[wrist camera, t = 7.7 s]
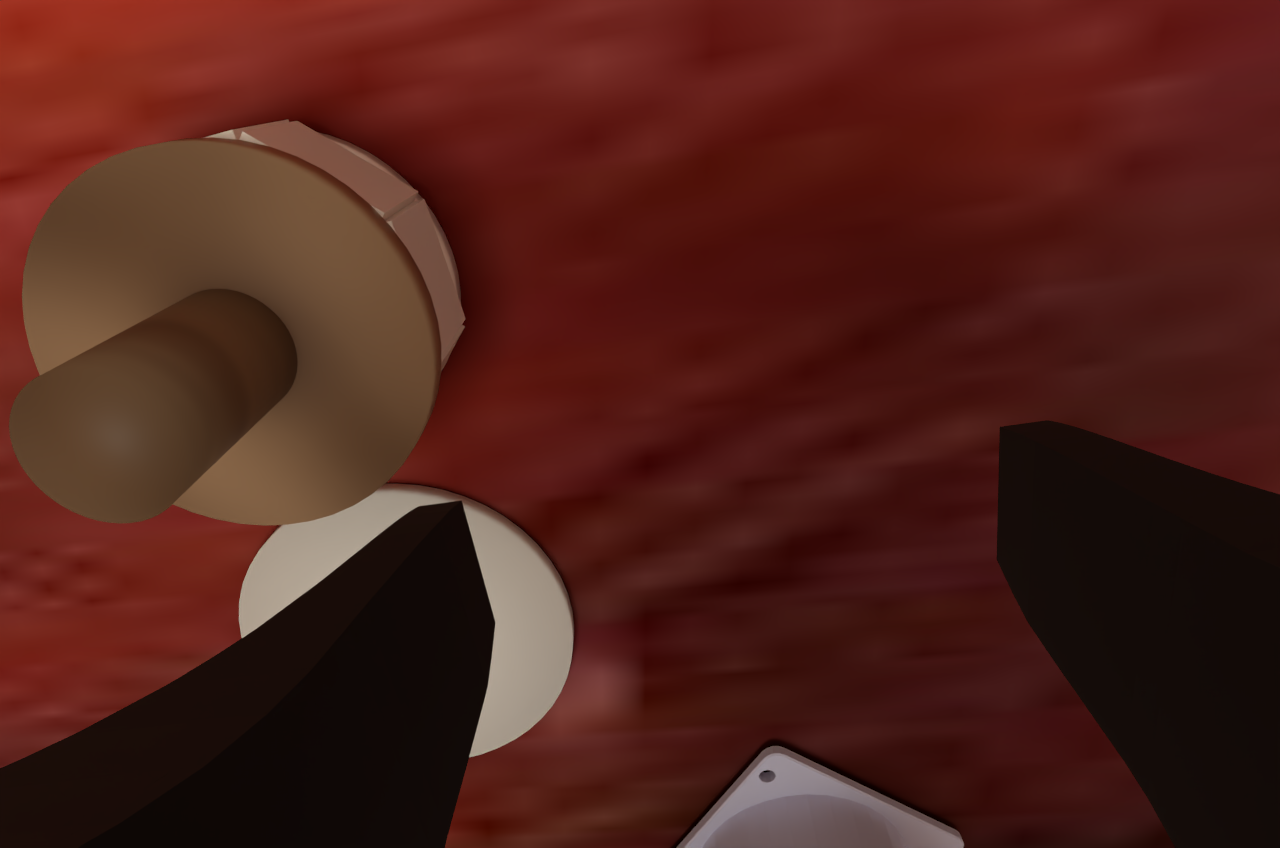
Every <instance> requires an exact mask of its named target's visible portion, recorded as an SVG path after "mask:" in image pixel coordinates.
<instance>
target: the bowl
mask: <svg viewBox="0 0 1280 848" xmlns="http://www.w3.org/2000/svg"><path fill="white" fill-rule="evenodd" d="M209 137H215V138H225V139H236V140H244V141H248V142H252V143H257V144H261V145H266V146H270V147H272V148H275V149H278V150H281V151H284V152H286V153H289V154H292V155H295V156H297V157H299V158H301V159H303V160H305V161H307V162H309V163H311V164H313V165H315V166H317V167H319V168H321V169H323V170H325V171H326V172H328V173H329V174H331V175H332V176H334V177H335V178H337V179H338V180H340V181H341V182H343V183H344V184H346V185H347V186H349V187H350V188H351V189H352V190H353V191H355V192H356V193H357V194H358V195H359V196H361V197H362V198H363V199H364V200H365V201H367V202H368V203H369V204H370V205H371V206H372V207H373V208H374V209H375V210H376V211H377V212H378V213H379V214H380V215H381V216H382V218H383V219H384V220H385V221H386V222H387V223H388V224H389V225H390V226H391V227H392V229H393V230H394V231H395V233H396V234H397V235H398V237H399V238H400V239H401V241H402V242H403V243H404V245H405V246H406V247H407V249H408V251H409V252H410V254H411V256H412V258H413V259H414V261H415V263H416V265H417V266H418V268H419V270H420V272H421V274H422V276H423V279H424V281H425V283H426V286H427V288H428V290H429V293H430V295H431V298H432V302H433V305H434V309H435V312H436V316H437V319H438V325H439V332H440V339H441V362H442V368H441V371H442V369H443V368H444V366H445V365H446V363H447V361H448V358H449V356H450V354H451V352H452V350H453V348H454V346H455V344H456V343H457V341H458V339H459V337H460V335H461V333H462V332H463V330H464V328H465V326H463V325H462V324H463V322H464V321H465V319H466V318H465V315H464V312H463V310H462V307H461V290H460V282H459V275H458V270H457V266H456V263H455V259H454V255H453V252H452V250H451V247H450V245H449V242H448V240H447V237H446V235H445V233H444V231H443V229H442V227H441V226H440V224H439V222H438V220H437V219H436V217H435V215H434V214H433V212H432V211H431V209H430V208H429V207H428V205H427V204H426V202H425V199H423V198H422V197H421V196H420V195H419V194H418V191H417V190H415V189H414V188H413V187H412V186H411V185H410V184H409V183H408V182H407V181H406V180H405V179H404V178H403V177H402V176H400V175H399V174H398V173H397V172H396V171H395V170H393V169H392V168H391V167H390V166H389V165H387V164H386V163H384V162H383V161H381V160H380V159H378V158H377V157H375V156H374V155H372V154H371V153H369V152H367V151H365V150H363V149H361V148H359V147H357V146H355V145H354V144H352V143H350V142H347V141H344V140H341V139H339V138H336V137H333V136H330V135H327V134H323V133H318V132H316V131H314V130H312V129H311V128H309V127H307V126H305V125H304V124H302V123H300V122H299V121H293V122H289V120H288V119H287V120H282V121H276V122H271V123H266V124H260V125H255V126H249V127H244V128H239V129H233V130H229V131H226V132H222V133H218V134H215V135H211V136H207V137H204V138H209Z"/></svg>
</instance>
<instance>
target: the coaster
mask: <svg viewBox="0 0 1280 848" xmlns="http://www.w3.org/2000/svg"><path fill="white" fill-rule="evenodd" d="M461 500H462V503H463V507H464V511H465V514H466V518H467V522H468V525H469V529H470V532H471V536H472V540H473V543H474V547H475V550H476V554H477V558H478V561H479V565H480V568H481V572H482V576H483V579H484V583H485V587H486V590H487V594H488V597H489V601H490V605H491V608H492V612H493V615H494V619H495V631H494V641H493V650H492V659H491V666H490V673H489V681H488V687H487V691H486V695H485V699H484V703H483V707H482V711H481V715H480V718H479V722H478V726H477V730H476V733H475V737H474V741H473V744H472V748H471V752H470V755H469V757H472V756H477V755H480V754H483V753H486V752H489V751H491V750H494V749H497V748H499V747H501V746H503V745H505V744H507V743H509V742H511V741H513V740H515V739H516V738H518V737H519V736H521V735H522V734H524V733H525V732H527V731H528V730H529V729H530V728H531V727H533V726H534V725H535V724H536V723H537V722H538V721H539V720H541V719H542V717H543V716H544V715H545V714H546V713H547V712H548V710H549V709H550V708H551V707H552V706H553V704H554V702H555V701H556V699H557V698H558V696H559V694H560V693H561V691H562V688H563V686H564V684H565V681H566V679H567V676H568V673H569V668H570V664H571V660H572V652H573V641H574V621H573V611H572V607H571V603H570V600H569V596H568V593H567V590H566V588H565V586H564V583H563V581H562V579H561V577H560V575H559V573H558V572H557V570H556V568H555V567H554V565H553V563H552V562H551V560H550V559H549V558H548V556H547V555H546V554H545V553H544V552H543V550H542V549H541V548H540V547H539V545H538V544H537V543H536V542H535V541H534V540H533V539H532V538H531V537H529V536H528V535H527V534H526V533H525V532H524V531H523V530H522V529H521V528H519V527H518V526H517V525H515V524H514V523H513V522H511V521H510V520H509V519H507V518H506V517H504V516H503V515H501V514H499V513H498V512H496V511H494V510H492V509H491V508H489V507H487V506H485V505H483V504H481V503H479V502H476V501H474V500H472V499H469V498H467V497H465V496H462V495H459V494H455V493H452V492H449V491H446V490H442V489H437V488H432V487H427V486H421V485H411V484H398V483H392V484H384V485H383V486H381V487H380V488H379V489H378V490H376V491H375V492H374V493H373V494H372V495H370V496H368V497H367V498H365V499H364V500H362V501H360V502H359V503H357V504H355V505H354V506H352V507H349V508H347V509H345V510H342V511H340V512H338V513H335V514H333V515H330V516H327V517H323V518H320V519H316V520H313V521H308V522H301V523H295V524H288V525H280V526H279V527H278V528H277V529H276V530H275V531H274V533H273V534H272V535H271V536H270V537H269V539H268V540H267V541H266V542H265V544H264V545H263V546H262V548H261V549H260V550H259V551H258V553H257V555H256V556H255V558H254V560H253V561H252V563H251V565H250V566H249V569H248V571H247V574H246V577H245V579H244V582H243V585H242V590H241V595H240V600H239V624H240V631H241V637H242V638H243V637H245V636H246V635H248V634H249V633H251V632H252V631H254V630H255V629H257V628H258V627H259V626H261V625H262V624H263V623H265V622H266V621H267V620H269V619H270V618H272V617H273V616H274V615H276V614H277V613H278V612H280V611H281V610H282V609H284V608H285V607H286V606H288V605H289V604H291V603H292V602H293V601H295V600H296V599H297V598H299V597H300V596H301V595H303V594H304V593H305V592H307V591H308V590H309V589H311V588H312V587H314V586H315V585H316V584H318V583H319V582H320V581H321V580H323V579H324V578H325V577H326V576H328V575H329V574H330V573H331V572H333V571H334V570H335V569H336V568H338V567H339V566H340V565H341V564H343V563H344V562H345V561H346V560H348V559H349V558H350V557H352V556H353V555H354V554H355V553H357V552H358V551H359V550H360V549H362V548H363V547H364V546H365V545H366V544H368V543H369V542H370V541H371V540H373V539H374V538H375V537H376V536H378V535H379V534H380V533H381V532H383V531H384V530H385V529H387V528H388V527H389V526H390V525H392V524H393V523H394V522H396V521H397V520H398V519H400V518H401V517H402V516H404V515H405V514H407V513H408V512H410V511H411V510H413V509H415V508H416V507H418V506H424V505H432V504H439V503H446V502H454V501H461Z"/></svg>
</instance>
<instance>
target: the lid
mask: <svg viewBox="0 0 1280 848" xmlns="http://www.w3.org/2000/svg"><path fill="white" fill-rule="evenodd" d="M22 302H23V314H24V324H25V328H26V333H27V337H28V342H29V346H30V350H31V352H32V355H33V358H34V361H35V363H36V366H37V369H38V372H39V374H40V376H38V377H36V378H35V379H33V380H32V381H31V382H29V383H28V384H27V385H26V386H25V387H24V388H23V389H22V390H21V391H20V393H19V394H18V396H17V397H16V399H15V401H14V404H13V406H12V409H11V413H10V421H9V430H10V438H11V442H12V446H13V449H14V452H15V454H16V457H17V459H18V461H19V462H20V464H21V466H22V468H23V469H24V471H25V472H26V473H27V475H28V476H29V478H30V479H31V480H32V481H33V482H34V483H35V484H36V486H38V487H39V488H40V489H41V490H42V491H43V492H44V493H45V494H46V495H48V496H49V497H50V498H51V499H53V500H54V501H55V502H57V503H59V504H60V505H62V506H63V507H65V508H67V509H69V510H71V511H73V512H75V513H77V514H80V515H82V516H85V517H88V518H91V519H94V520H98V521H104V522H110V523H132V522H139V521H143V520H146V519H150V518H152V517H154V516H156V515H159V514H160V513H162V512H163V511H165V510H166V509H167V508H169V507H170V506H171V505H172V504H173V505H176V506H178V507H181V508H183V509H186V510H188V511H190V512H194V513H197V514H200V515H204V516H207V517H210V518H214V519H218V520H224V521H229V522H234V523H240V524H252V525H288V524H295V523H301V522H308V521H313V520H316V519H320V518H323V517H327V516H330V515H333V514H335V513H338V512H340V511H342V510H345V509H347V508H349V507H352V506H354V505H355V504H357V503H359V502H360V501H362V500H364V499H365V498H367V497H368V496H370V495H372V494H373V493H374V492H375V491H376V490H378V489H379V488H380V487H381V486H383V485H384V484H385V483H386V482H387V481H388V480H389V479H390V478H391V477H392V476H393V475H394V474H395V473H396V472H397V470H398V469H399V468H400V467H401V466H402V465H403V463H404V462H405V460H406V459H407V457H408V456H409V454H410V453H411V451H412V450H413V448H414V447H415V445H416V443H417V441H418V440H419V438H420V436H421V434H422V433H423V431H424V429H425V427H426V424H427V422H428V420H429V418H430V416H431V414H432V411H433V408H434V404H435V401H436V397H437V394H438V391H439V383H440V376H441V368H442V362H441V339H440V332H439V325H438V319H437V316H436V312H435V309H434V305H433V302H432V298H431V295H430V293H429V290H428V288H427V286H426V283H425V281H424V279H423V276H422V274H421V272H420V270H419V268H418V266H417V265H416V263H415V261H414V259H413V258H412V256H411V254H410V252H409V251H408V249H407V247H406V246H405V245H404V243H403V242H402V241H401V239H400V238H399V237H398V235H397V234H396V233H395V231H394V230H393V229H392V227H391V226H390V225H389V224H388V223H387V222H386V221H385V220H384V219H383V218H382V216H381V215H380V214H379V213H378V212H377V211H376V210H375V209H374V208H373V207H372V206H371V205H370V204H369V203H368V202H367V201H365V200H364V199H363V198H362V197H361V196H359V195H358V194H357V193H356V192H355V191H353V190H352V189H351V188H350V187H349V186H347V185H346V184H344V183H343V182H341V181H340V180H338V179H337V178H335V177H334V176H332V175H331V174H329V173H328V172H326V171H325V170H323V169H321V168H319V167H317V166H315V165H313V164H311V163H309V162H307V161H305V160H303V159H301V158H299V157H297V156H295V155H292V154H289V153H286V152H284V151H281V150H278V149H275V148H272V147H270V146H266V145H261V144H257V143H252V142H248V141H244V140H236V139H225V138H215V137H209V138H186V139H180V140H175V141H170V142H164V143H159V144H154V145H149V146H143V147H138V148H134V149H131V150H129V151H126V152H123V153H120V154H117V155H114V156H112V157H109V158H108V159H106V160H104V161H102V162H100V163H98V164H97V165H95V166H93V167H91V168H89V169H88V170H86V171H85V172H84V173H83V174H81V175H80V176H79V177H78V178H76V179H75V180H74V181H72V182H71V183H70V184H69V185H68V186H67V187H66V188H65V189H64V190H63V191H62V192H61V193H60V195H59V196H58V197H57V198H56V199H55V200H54V201H53V202H52V204H51V205H50V207H49V208H48V210H47V211H46V213H45V215H44V216H43V218H42V220H41V221H40V223H39V224H38V227H37V229H36V232H35V234H34V237H33V239H32V242H31V244H30V247H29V250H28V254H27V259H26V264H25V268H24V274H23V290H22Z"/></svg>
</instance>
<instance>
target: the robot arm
mask: <svg viewBox="0 0 1280 848" xmlns="http://www.w3.org/2000/svg"><path fill="white" fill-rule="evenodd" d="M997 561H998V563H999V565H1000V567H1001V569H1002V571H1003V573H1004V575H1005V578H1006V580H1007V582H1008V584H1009V586H1010V588H1011V590H1012V592H1013V594H1014V596H1015V598H1016V600H1017V602H1018V604H1019V606H1020V608H1021V610H1022V612H1023V614H1024V616H1025V618H1026V620H1027V621H1028V623H1029V624H1030V626H1031V627H1032V629H1033V630H1034V632H1035V633H1036V635H1037V636H1038V638H1039V639H1040V641H1041V642H1042V644H1043V645H1044V647H1045V648H1046V650H1047V651H1048V653H1049V654H1050V655H1051V657H1052V658H1053V660H1054V661H1055V663H1056V664H1057V666H1058V667H1059V669H1060V670H1061V671H1062V673H1063V674H1064V676H1065V677H1066V679H1067V680H1068V681H1069V683H1070V684H1071V686H1072V687H1073V689H1074V690H1075V691H1076V693H1077V694H1078V696H1079V697H1080V699H1081V700H1082V701H1083V703H1084V704H1085V706H1086V707H1087V709H1088V710H1089V711H1090V713H1091V714H1092V716H1093V717H1094V719H1095V720H1096V721H1097V723H1098V724H1099V726H1100V727H1101V729H1102V730H1103V731H1104V733H1105V734H1106V736H1107V737H1108V739H1109V740H1110V741H1111V743H1112V744H1113V746H1114V747H1115V749H1116V750H1117V751H1118V753H1119V754H1120V756H1121V757H1122V759H1123V760H1124V761H1125V763H1126V764H1127V766H1128V768H1129V769H1130V771H1131V772H1132V774H1133V775H1134V777H1135V779H1136V780H1137V782H1138V783H1139V785H1140V786H1141V788H1142V790H1143V791H1144V793H1145V794H1146V796H1147V797H1148V799H1149V801H1150V803H1151V804H1152V806H1153V808H1154V810H1155V812H1156V813H1157V815H1158V817H1159V819H1160V821H1161V822H1162V824H1163V826H1164V828H1165V830H1166V831H1167V833H1168V835H1169V837H1170V839H1171V841H1172V842H1173V844H1174V846H1175V848H1280V495H1279V494H1276V493H1272V492H1269V491H1266V490H1262V489H1259V488H1256V487H1252V486H1249V485H1246V484H1242V483H1239V482H1236V481H1233V480H1230V479H1227V478H1224V477H1220V476H1217V475H1214V474H1211V473H1208V472H1205V471H1202V470H1199V469H1196V468H1193V467H1190V466H1187V465H1184V464H1182V463H1179V462H1176V461H1173V460H1170V459H1167V458H1164V457H1161V456H1159V455H1156V454H1153V453H1150V452H1147V451H1144V450H1141V449H1139V448H1136V447H1133V446H1130V445H1127V444H1124V443H1122V442H1119V441H1116V440H1113V439H1110V438H1107V437H1104V436H1101V435H1098V434H1095V433H1092V432H1089V431H1086V430H1083V429H1080V428H1077V427H1073V426H1070V425H1066V424H1062V423H1058V422H1053V421H1040V422H1033V423H1026V424H1018V425H1011V426H1004V427H1000V446H999V488H998V530H997ZM494 631H495V619H494V615H493V612H492V608H491V605H490V601H489V597H488V594H487V590H486V587H485V583H484V579H483V576H482V572H481V568H480V565H479V561H478V558H477V554H476V550H475V547H474V543H473V540H472V536H471V532H470V529H469V525H468V522H467V518H466V514H465V511H464V507H463V503H462V500H461V501H454V502H446V503H439V504H432V505H424V506H418V507H416V508H415V509H413V510H411V511H410V512H408V513H407V514H405V515H404V516H402V517H401V518H400V519H398V520H397V521H396V522H394V523H393V524H392V525H390V526H389V527H388V528H387V529H385V530H384V531H383V532H381V533H380V534H379V535H378V536H376V537H375V538H374V539H373V540H371V541H370V542H369V543H368V544H366V545H365V546H364V547H363V548H362V549H360V550H359V551H358V552H357V553H355V554H354V555H353V556H352V557H350V558H349V559H348V560H346V561H345V562H344V563H343V564H341V565H340V566H339V567H338V568H336V569H335V570H334V571H333V572H331V573H330V574H329V575H328V576H326V577H325V578H324V579H323V580H321V581H320V582H319V583H318V584H316V585H315V586H314V587H312V588H311V589H309V590H308V591H307V592H305V593H304V594H303V595H301V596H300V597H299V598H297V599H296V600H295V601H293V602H292V603H291V604H289V605H288V606H286V607H285V608H284V609H282V610H281V611H280V612H278V613H277V614H276V615H274V616H273V617H272V618H270V619H269V620H267V621H266V622H265V623H263V624H262V625H261V626H259V627H258V628H257V629H255V630H254V631H252V632H251V633H249V634H248V635H246V636H245V637H243V638H242V639H240V640H239V641H237V642H236V643H234V644H233V645H231V646H230V647H228V648H227V649H225V650H224V651H222V652H221V653H219V654H217V655H216V656H214V657H212V658H211V659H209V660H208V661H206V662H204V663H203V664H201V665H199V666H198V667H196V668H195V669H193V670H191V671H190V672H188V673H186V674H185V675H183V676H182V677H180V678H178V679H176V680H175V681H173V682H171V683H169V684H168V685H166V686H164V687H162V688H161V689H159V690H157V691H155V692H153V693H151V694H149V695H147V696H146V697H144V698H142V699H140V700H138V701H136V702H134V703H132V704H131V705H129V706H127V707H125V708H123V709H121V710H119V711H117V712H116V713H114V714H112V715H110V716H108V717H106V718H104V719H103V720H101V721H99V722H97V723H95V724H93V725H91V726H89V727H88V728H86V729H84V730H82V731H80V732H78V733H76V734H74V735H72V736H70V737H67V738H65V739H63V740H61V741H59V742H57V743H55V744H53V745H51V746H48V747H46V748H44V749H42V750H40V751H38V752H36V753H34V754H31V755H29V756H27V757H25V758H23V759H21V760H18V761H16V762H14V763H12V764H9V765H7V766H5V767H3V768H0V848H445V844H446V839H447V835H448V832H449V828H450V824H451V821H452V817H453V813H454V810H455V806H456V803H457V799H458V795H459V792H460V788H461V784H462V781H463V777H464V773H465V770H466V766H467V763H468V759H469V755H470V752H471V748H472V744H473V741H474V737H475V733H476V730H477V726H478V722H479V718H480V715H481V711H482V707H483V703H484V699H485V695H486V691H487V687H488V681H489V673H490V666H491V659H492V650H493V641H494ZM765 770H770V772H766V773H764V772H763V771H765ZM963 847H964V843H963V840H962V838H961V835H960V833H959V832H958V831H957V830H955V829H953V828H951V827H949V826H947V825H945V824H943V823H941V822H939V821H937V820H934V819H932V818H930V817H928V816H926V815H924V814H922V813H920V812H918V811H916V810H914V809H911V808H909V807H907V806H905V805H903V804H901V803H899V802H897V801H895V800H893V799H891V798H888V797H886V796H884V795H882V794H880V793H878V792H876V791H874V790H872V789H870V788H868V787H865V786H863V785H861V784H859V783H857V782H855V781H853V780H851V779H849V778H847V777H844V776H842V775H840V774H838V773H836V772H834V771H832V770H830V769H828V768H826V767H824V766H821V765H819V764H817V763H815V762H813V761H811V760H809V759H807V758H805V757H803V756H801V755H798V754H796V753H794V752H792V751H790V750H788V749H786V748H784V747H780V746H771V747H768V748H766V749H764V750H763V751H762V752H761V753H760V754H759V755H758V756H757V758H756V759H755V760H754V761H753V762H752V763H751V764H750V765H749V767H748V768H747V769H746V770H745V771H744V772H743V773H742V774H741V776H740V777H739V778H738V779H737V780H736V781H735V782H734V783H733V785H732V786H731V787H730V788H729V789H728V790H727V791H726V792H725V794H724V795H723V796H722V797H721V798H720V799H719V800H718V801H717V803H716V804H715V805H714V806H713V807H712V808H711V809H710V810H709V812H708V813H707V814H706V815H705V816H704V817H703V818H702V819H701V820H700V822H699V823H698V824H697V825H696V826H695V827H694V828H693V829H692V831H691V832H690V833H689V834H688V835H687V836H686V837H685V838H684V840H683V841H682V842H681V843H680V844H679V845H678V846H677V847H676V848H963Z"/></svg>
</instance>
